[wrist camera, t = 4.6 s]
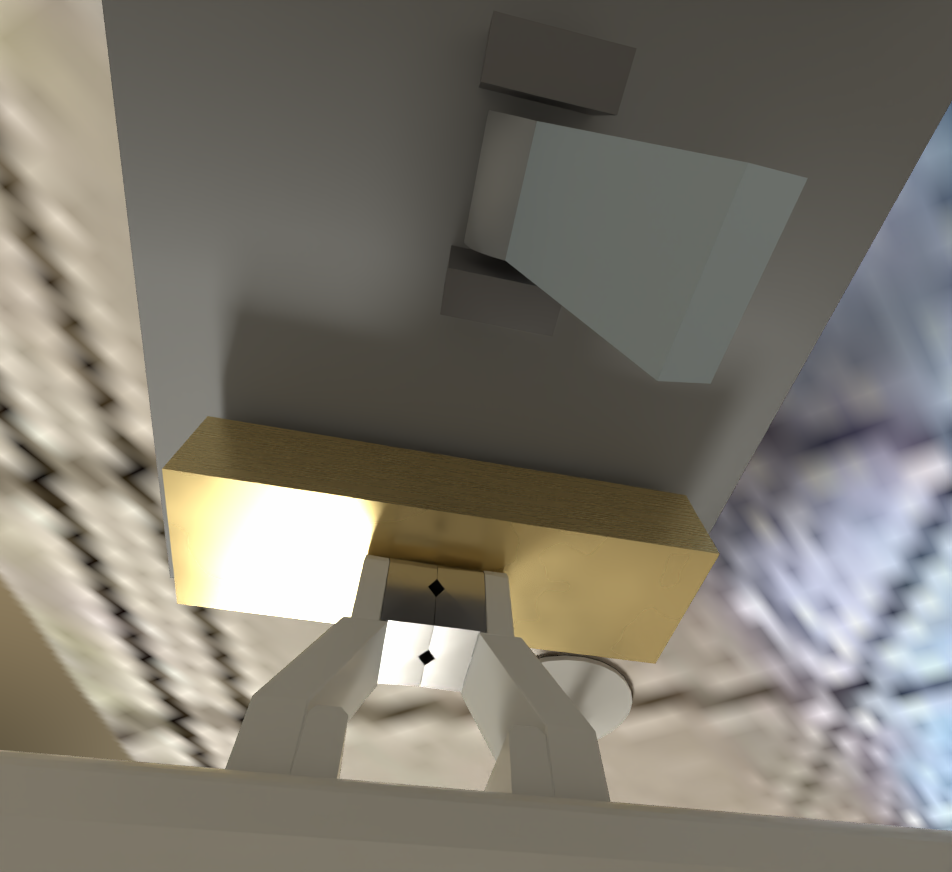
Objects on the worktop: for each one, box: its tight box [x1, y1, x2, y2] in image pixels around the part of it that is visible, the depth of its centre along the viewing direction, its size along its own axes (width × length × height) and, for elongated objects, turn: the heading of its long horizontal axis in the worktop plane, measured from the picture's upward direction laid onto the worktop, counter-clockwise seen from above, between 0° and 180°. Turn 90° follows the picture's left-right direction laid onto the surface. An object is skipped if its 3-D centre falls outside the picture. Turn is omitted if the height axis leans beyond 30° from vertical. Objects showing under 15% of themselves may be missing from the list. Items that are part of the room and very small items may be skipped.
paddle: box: [464, 110, 808, 384], centre depth 7 cm, size 2×2×6 cm
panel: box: [102, 0, 952, 578], centre depth 11 cm, size 14×23×7 cm, turn 168°
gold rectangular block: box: [162, 416, 719, 663], centre depth 12 cm, size 11×4×2 cm, turn 78°
